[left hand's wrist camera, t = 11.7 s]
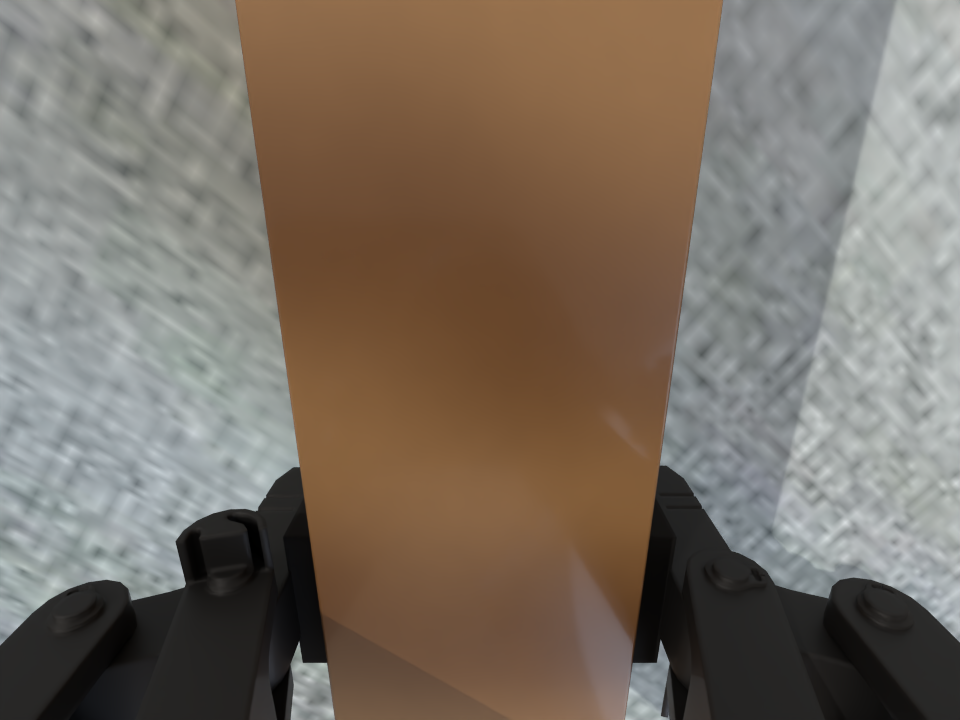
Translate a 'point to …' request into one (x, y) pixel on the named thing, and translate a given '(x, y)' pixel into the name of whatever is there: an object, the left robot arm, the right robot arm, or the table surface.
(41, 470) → the table surface
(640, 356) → the post
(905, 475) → the table surface
